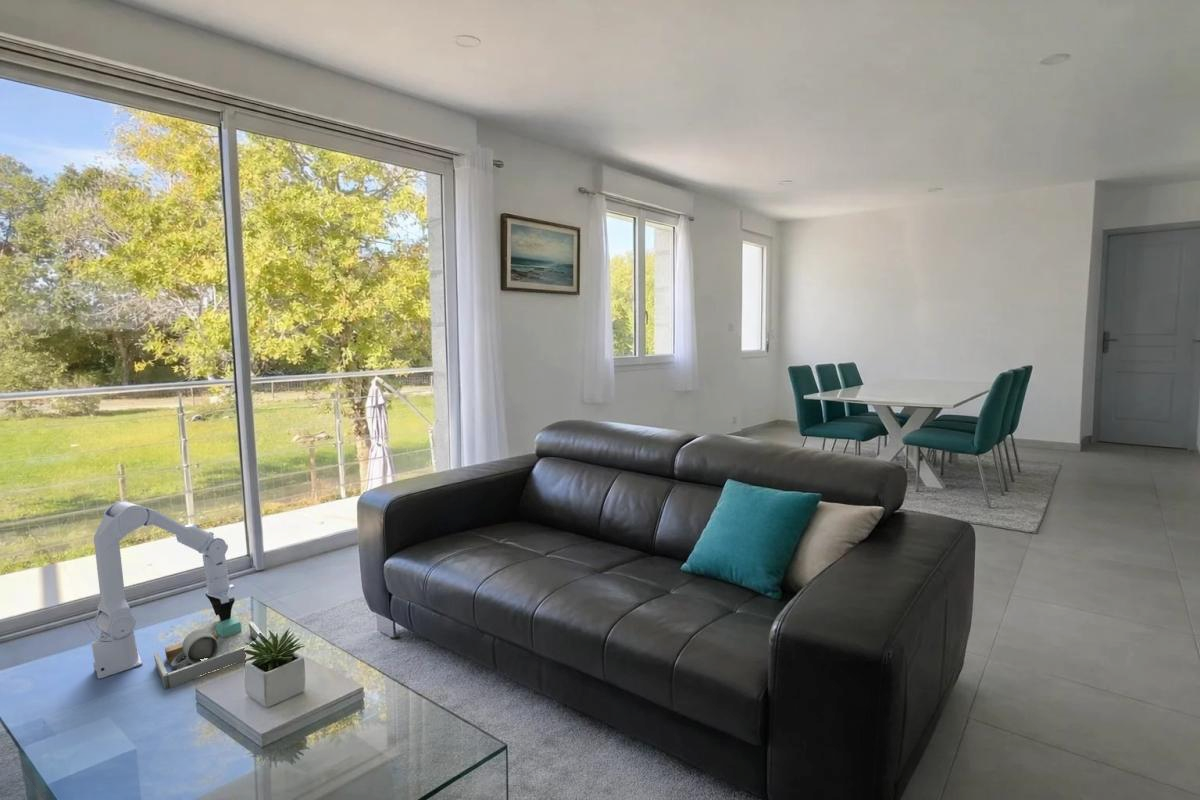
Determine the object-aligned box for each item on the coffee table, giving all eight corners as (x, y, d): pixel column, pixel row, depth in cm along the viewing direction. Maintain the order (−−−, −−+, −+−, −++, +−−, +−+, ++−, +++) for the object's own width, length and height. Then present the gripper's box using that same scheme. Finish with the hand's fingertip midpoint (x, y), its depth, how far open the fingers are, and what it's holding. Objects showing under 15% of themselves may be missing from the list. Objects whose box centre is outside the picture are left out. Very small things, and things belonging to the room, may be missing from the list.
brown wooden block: (168, 664, 173) (166, 652, 173) (166, 660, 175) (164, 648, 175) (218, 646, 181) (217, 635, 180) (216, 643, 183) (214, 631, 183)
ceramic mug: (213, 647, 180) (208, 622, 179) (221, 658, 174) (217, 631, 173) (168, 664, 173) (164, 637, 172) (176, 675, 167) (171, 648, 166)
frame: (165, 689, 161) (163, 676, 160) (155, 666, 172) (153, 654, 171) (269, 651, 177) (267, 639, 176) (254, 632, 188) (252, 621, 187)
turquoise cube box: (223, 638, 186) (221, 628, 185) (216, 633, 189) (215, 623, 188) (241, 631, 189) (240, 621, 189) (235, 626, 193) (233, 616, 192)
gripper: (237, 578, 189) (243, 621, 191) (225, 564, 200) (231, 605, 202) (210, 586, 185) (217, 630, 187) (199, 571, 195) (206, 613, 198)
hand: (222, 618), depth 194 cm, fingers open, 7 cm apart
